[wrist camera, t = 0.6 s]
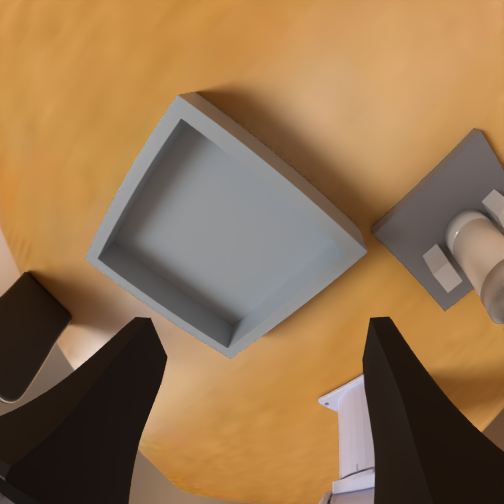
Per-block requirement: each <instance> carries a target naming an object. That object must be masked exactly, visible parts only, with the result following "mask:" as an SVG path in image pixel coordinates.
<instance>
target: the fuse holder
mask: <svg viewBox="0 0 504 504" xmlns="http://www.w3.org/2000/svg"><path fill="white" fill-rule="evenodd" d="M465 209H477V210H479V211H480V212H482V213H483V214H484V215H485V216H486V217H487V218H488V219H489V220H490V221H491V222H492V224H493V225H494V226H495V227H496V228H497V229H498V230H499V232H500V233H501V234H502V235H503V236H504V170H503V168H502V166H501V164H500V162H499V161H498V159H497V157H496V155H495V154H494V152H493V150H492V149H491V147H490V145H489V144H488V142H487V140H486V139H485V137H484V136H483V134H482V132H481V131H479V130H477V129H473V130H472V131H471V132H470V133H469V134H468V135H467V136H466V137H465V138H464V139H463V140H462V141H461V142H460V143H459V144H458V145H457V146H456V147H455V148H454V149H453V150H452V151H451V152H450V153H449V154H448V155H447V156H446V157H445V158H444V159H443V160H442V161H441V162H440V163H439V164H438V165H437V166H436V167H435V168H434V169H433V170H432V171H431V172H430V173H429V174H428V175H427V176H426V177H425V178H424V179H423V180H422V181H421V182H420V183H419V184H418V185H417V186H416V187H415V188H414V189H413V190H411V191H410V192H409V193H408V194H407V195H406V196H405V197H404V198H403V199H402V200H401V201H400V202H399V203H398V204H397V205H395V206H394V207H393V208H392V209H391V210H390V211H389V212H388V213H387V214H386V215H385V216H383V217H382V218H381V219H380V220H379V221H378V222H377V223H376V224H375V225H374V226H372V227H371V230H372V232H373V234H374V235H375V236H376V237H377V238H378V239H379V240H380V241H381V242H382V243H383V244H384V245H385V246H386V247H387V248H388V249H389V251H390V252H391V253H392V254H393V255H394V256H395V257H396V258H397V259H398V260H399V261H400V262H401V263H402V264H403V265H404V266H405V267H406V268H407V269H408V271H409V272H410V273H411V274H412V275H413V276H414V277H415V278H416V279H417V280H418V281H419V282H420V284H421V285H422V286H423V287H424V288H425V289H426V290H427V291H428V293H429V294H430V295H431V296H432V297H433V298H434V299H435V300H436V302H437V303H438V304H439V305H440V306H441V307H442V309H443V310H444V311H446V310H447V309H449V308H450V307H451V306H453V305H454V304H455V303H456V302H458V301H459V300H460V299H461V298H463V297H464V296H465V295H466V294H467V293H469V292H470V291H471V290H472V289H473V288H474V287H473V285H472V284H471V282H470V280H469V279H468V277H467V276H466V274H465V273H464V271H463V270H462V268H461V267H460V265H459V264H458V263H457V262H456V260H455V259H454V258H453V256H452V255H451V253H450V252H449V250H448V249H447V247H446V244H445V232H446V229H447V226H448V224H449V222H450V221H451V219H452V218H453V217H454V216H455V215H456V214H457V213H459V212H461V211H463V210H465Z"/></svg>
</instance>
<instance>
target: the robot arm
mask: <svg viewBox="0 0 504 504" xmlns="http://www.w3.org/2000/svg"><path fill="white" fill-rule="evenodd" d="M362 361H363V374H362V375H361V376H359V377H357V378H355V379H354V380H352V381H350V382H348V383H347V384H345V385H343V386H341V387H339V388H337V389H335V390H334V391H332V392H330V393H328V394H326V395H324V396H322V397H320V398H319V403H320V404H321V405H323V406H325V407H327V408H330V409H332V410H334V411H336V412H338V419H339V480H337V481H333V488H332V490H330V491H328V492H326V493H325V495H324V496H323V498H322V499H321V500H320V502H319V503H318V504H504V452H503V451H502V450H501V449H500V448H498V447H497V446H496V445H495V444H494V443H493V442H491V441H490V440H489V439H488V438H487V437H486V436H485V435H484V434H483V433H481V432H480V431H479V430H478V429H477V428H476V427H475V426H474V425H473V424H472V423H471V422H470V421H469V420H468V419H467V418H466V417H465V416H464V415H463V414H462V413H461V412H460V411H459V410H458V409H457V407H456V406H455V405H454V404H453V403H452V402H451V401H450V400H449V398H448V397H447V396H446V395H445V394H444V392H443V391H442V390H441V389H440V388H439V386H438V385H437V384H436V382H435V381H434V380H433V379H432V377H431V376H430V375H429V373H428V372H427V371H426V369H425V368H424V367H423V365H422V364H421V362H420V361H419V360H418V358H417V357H416V356H415V354H414V353H413V351H412V350H411V348H410V347H409V345H408V344H407V342H406V341H405V339H404V338H403V336H402V335H401V333H400V332H399V330H398V329H397V327H396V326H395V324H394V323H393V321H392V319H391V318H390V317H375V318H370V322H369V328H368V334H367V339H366V344H365V350H364V355H363V360H362ZM166 362H167V355H166V353H165V350H164V348H163V346H162V344H161V341H160V339H159V337H158V334H157V332H156V330H155V327H154V325H153V323H152V320H151V318H142V317H135V318H134V319H133V320H132V321H130V322H129V323H128V324H127V325H126V326H125V327H124V328H122V329H121V330H120V331H119V332H118V333H117V334H116V335H115V336H114V337H113V338H111V339H110V340H109V341H108V342H107V343H106V344H105V345H104V346H103V347H102V348H100V349H99V350H98V351H97V352H96V353H95V354H94V355H93V356H92V357H90V358H89V359H88V360H87V361H86V362H85V363H83V364H82V365H81V366H80V367H79V368H77V369H76V370H75V371H74V372H73V373H71V374H70V375H69V376H68V377H66V378H65V379H64V380H62V381H61V382H60V383H58V384H57V385H56V386H54V387H53V388H51V389H50V390H48V391H47V392H45V393H44V394H42V395H40V396H38V397H37V398H35V399H34V400H32V401H30V402H28V403H27V404H25V405H23V406H21V407H19V408H17V409H15V410H13V411H11V412H9V413H6V414H4V415H2V416H0V504H128V502H129V494H130V486H131V479H132V473H133V468H134V462H135V458H136V454H137V450H138V445H139V441H140V438H141V435H142V432H143V429H144V427H145V424H146V421H147V419H148V416H149V414H150V411H151V408H152V406H153V403H154V401H155V398H156V396H157V393H158V390H159V388H160V385H161V382H162V378H163V374H164V371H165V366H166Z"/></svg>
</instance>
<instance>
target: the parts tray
mask: <svg viewBox="0 0 504 504" xmlns="http://www.w3.org/2000/svg"><path fill="white" fill-rule="evenodd" d="M366 253H368V251H367V248H366V245H365V242H364V240H363V237H362V234H361V231H360V228H359V227H358V226H357V225H356V224H355V223H353V222H352V221H351V220H350V219H349V218H348V217H347V216H346V215H345V214H344V213H343V212H342V211H341V210H340V209H339V208H337V207H336V206H335V205H334V204H333V203H332V202H331V201H330V200H329V199H328V198H327V197H325V196H324V195H323V194H322V193H321V192H320V191H319V190H318V189H316V188H315V187H314V186H313V185H312V184H311V183H310V182H309V181H307V180H306V179H305V178H304V177H303V176H302V175H300V174H299V173H298V172H297V171H296V170H295V169H294V168H292V167H291V166H290V165H289V164H288V163H286V162H285V161H284V160H283V159H282V158H280V157H279V156H278V155H277V154H276V153H274V152H273V151H272V150H271V149H270V148H268V147H267V146H266V145H265V144H263V143H262V142H261V141H260V140H258V139H257V138H256V137H255V136H253V135H252V134H251V133H250V132H248V131H247V130H246V129H245V128H243V127H242V126H241V125H239V124H238V123H237V122H236V121H234V120H233V119H232V118H230V117H229V116H228V115H226V114H225V113H224V112H222V111H221V110H220V109H218V108H217V107H216V106H214V105H213V104H212V103H210V102H209V101H207V100H206V99H205V98H203V97H202V96H201V95H199V94H198V93H196V92H190V93H185V94H180V95H177V97H176V98H175V99H174V101H173V102H172V104H171V105H170V107H169V108H168V110H167V111H166V112H165V114H164V115H163V117H162V118H161V120H160V121H159V123H158V125H157V126H156V128H155V129H154V131H153V132H152V134H151V135H150V137H149V139H148V140H147V142H146V143H145V145H144V147H143V148H142V150H141V152H140V153H139V155H138V157H137V158H136V160H135V162H134V163H133V165H132V167H131V169H130V170H129V172H128V174H127V176H126V177H125V179H124V181H123V183H122V184H121V186H120V188H119V190H118V192H117V194H116V196H115V197H114V199H113V201H112V203H111V205H110V207H109V209H108V211H107V213H106V215H105V217H104V219H103V221H102V223H101V225H100V227H99V229H98V231H97V233H96V235H95V237H94V239H93V242H92V244H91V246H90V248H89V250H88V253H87V255H86V257H85V260H87V261H88V262H89V263H90V264H92V265H93V266H94V267H96V268H97V269H98V270H99V271H101V272H102V273H103V274H105V275H106V276H107V277H109V278H110V279H111V280H113V281H114V282H115V283H117V284H118V285H119V286H121V287H122V288H123V289H125V290H126V291H128V292H129V293H130V294H132V295H133V296H135V297H136V298H137V299H139V300H140V301H142V302H143V303H144V304H146V305H147V306H149V307H150V308H152V309H153V310H155V311H156V312H157V313H159V314H160V315H162V316H163V317H165V318H166V319H168V320H169V321H171V322H172V323H174V324H175V325H177V326H178V327H180V328H182V329H183V330H185V331H186V332H188V333H189V334H191V335H192V336H194V337H196V338H197V339H199V340H200V341H202V342H203V343H205V344H207V345H208V346H210V347H212V348H213V349H215V350H216V351H218V352H220V353H221V354H223V355H225V356H226V357H228V358H230V359H231V358H232V357H234V356H235V355H237V354H238V353H239V352H241V351H242V350H244V349H245V348H246V347H248V346H249V345H251V344H252V343H253V342H255V341H256V340H257V339H259V338H260V337H262V336H263V335H264V334H266V333H267V332H268V331H270V330H271V329H272V328H274V327H275V326H276V325H278V324H279V323H280V322H282V321H283V320H284V319H286V318H287V317H288V316H290V315H291V314H292V313H294V312H295V311H296V310H297V309H299V308H300V307H301V306H303V305H304V304H305V303H306V302H308V301H309V300H310V299H311V298H313V297H314V296H315V295H317V294H318V293H319V292H320V291H322V290H323V289H324V288H325V287H327V286H328V285H329V284H330V283H332V282H333V281H334V280H335V279H336V278H338V277H339V276H340V275H341V274H343V273H344V272H345V271H346V270H347V269H349V268H350V267H351V266H352V265H353V264H355V263H356V262H357V261H358V260H359V259H360V258H362V257H363V256H364V255H365V254H366Z"/></svg>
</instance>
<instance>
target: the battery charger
mask: <svg viewBox="0 0 504 504" xmlns="http://www.w3.org/2000/svg"><path fill="white" fill-rule="evenodd" d="M71 320H72V317H71V316H70V315H69V313H68V312H67V311H66V310H65V309H64V308H63V307H62V306H61V305H60V304H59V303H58V302H57V301H56V300H55V299H54V298H53V297H52V296H51V295H50V294H49V293H48V292H47V291H46V290H45V289H44V288H43V287H42V286H41V285H40V284H39V283H38V282H37V281H36V280H35V279H34V278H33V277H31V276H30V275H29V274H28V273H27V272H24V273H23V274H22V275H21V276H20V277H19V278H18V279H17V280H16V282H15V283H14V284H13V285H12V286H11V287H10V288H9V289H8V290H7V291H6V292H5V293H4V294H3V295H2V296H1V297H0V401H1V402H2V403H6V404H10V403H14V402H17V401H18V400H20V399H21V398H22V397H23V395H24V394H25V393H26V391H27V390H28V388H29V387H30V385H31V384H32V382H33V381H34V379H35V378H36V376H37V374H38V373H39V371H40V369H41V368H42V366H43V364H44V363H45V361H46V359H47V357H48V356H49V354H50V352H51V351H52V349H53V347H54V345H55V344H56V342H57V340H58V339H59V338H60V336H61V335H62V333H63V332H64V330H65V329H66V328H67V327H68V325H69V324H70V323H71Z"/></svg>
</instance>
